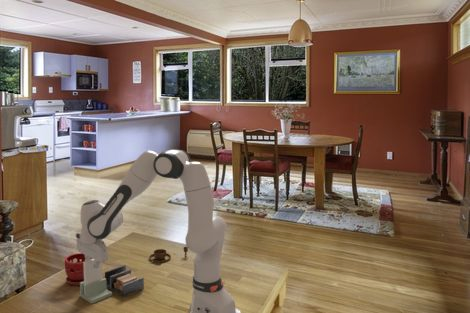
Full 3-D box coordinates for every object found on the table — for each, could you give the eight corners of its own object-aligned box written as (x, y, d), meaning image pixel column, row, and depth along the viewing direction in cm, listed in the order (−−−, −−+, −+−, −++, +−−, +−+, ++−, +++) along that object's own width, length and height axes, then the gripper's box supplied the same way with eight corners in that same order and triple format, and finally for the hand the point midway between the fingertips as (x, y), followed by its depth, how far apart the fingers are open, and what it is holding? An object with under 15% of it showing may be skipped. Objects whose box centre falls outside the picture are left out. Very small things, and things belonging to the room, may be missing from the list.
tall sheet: (102, 288, 182) (102, 257, 180) (86, 295, 176) (85, 263, 174) (100, 287, 183) (99, 256, 181) (84, 293, 177) (83, 261, 175)
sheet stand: (112, 295, 179) (111, 281, 178) (91, 303, 172) (91, 289, 171) (99, 288, 186) (99, 275, 185) (79, 296, 178) (79, 282, 177)
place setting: (156, 252, 232) (156, 242, 231) (189, 256, 227) (189, 246, 226) (143, 264, 215) (143, 254, 214) (178, 268, 210) (178, 258, 209)
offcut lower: (139, 285, 186) (139, 281, 186) (123, 291, 179) (123, 287, 179) (130, 280, 191) (130, 276, 190) (114, 287, 184) (114, 283, 184)
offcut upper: (137, 281, 186) (136, 277, 185) (124, 286, 180) (124, 282, 180) (129, 277, 189) (129, 273, 189) (116, 282, 184) (116, 278, 184)
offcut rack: (143, 288, 186) (143, 273, 185) (123, 297, 178) (123, 281, 177) (124, 279, 196) (124, 264, 194) (105, 286, 187) (104, 271, 186)
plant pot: (78, 289, 184) (77, 265, 182) (59, 282, 190) (58, 259, 189) (100, 278, 195) (99, 255, 194) (81, 272, 202) (80, 250, 200)
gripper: (111, 240, 172) (112, 270, 174) (86, 229, 185) (87, 257, 187) (98, 243, 167) (99, 274, 169) (73, 233, 180) (74, 261, 182)
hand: (92, 265), depth 178 cm, fingers open, 5 cm apart
